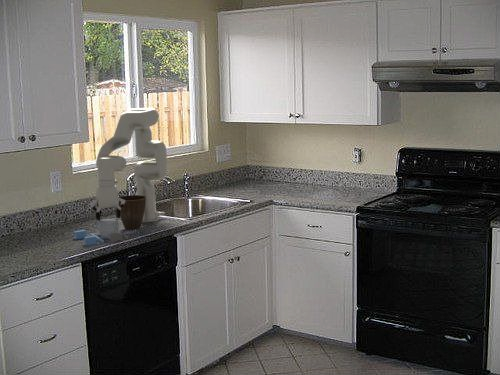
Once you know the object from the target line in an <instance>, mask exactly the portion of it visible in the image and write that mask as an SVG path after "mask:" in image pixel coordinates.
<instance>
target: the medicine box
mask: <svg viewBox="0 0 500 375" xmlns="http://www.w3.org/2000/svg"><path fill="white" fill-rule="evenodd" d="M119 226H120V224H119V218H116V219H115V218H114V219H113V218H110V219H109V218H104V219H100V221H99V228H100V233H101V236H100V238H101V239H109V234H110V233H117V232H120V227H119Z"/></svg>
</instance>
